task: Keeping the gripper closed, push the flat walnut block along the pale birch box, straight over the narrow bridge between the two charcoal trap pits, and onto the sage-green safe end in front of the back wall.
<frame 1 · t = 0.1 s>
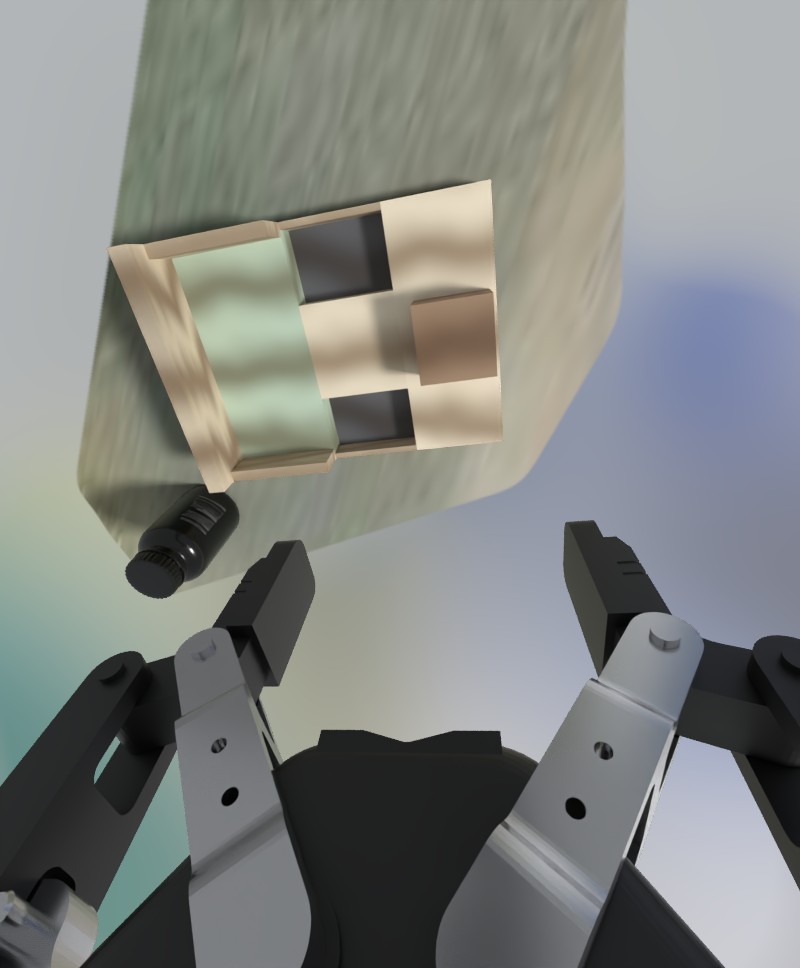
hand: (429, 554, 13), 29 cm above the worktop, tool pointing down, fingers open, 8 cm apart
walnut block: (454, 334, 35), point 2 cm above the worktop, touching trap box
supplement bottle: (213, 508, 50), on the worktop
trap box: (344, 345, 39), on the worktop
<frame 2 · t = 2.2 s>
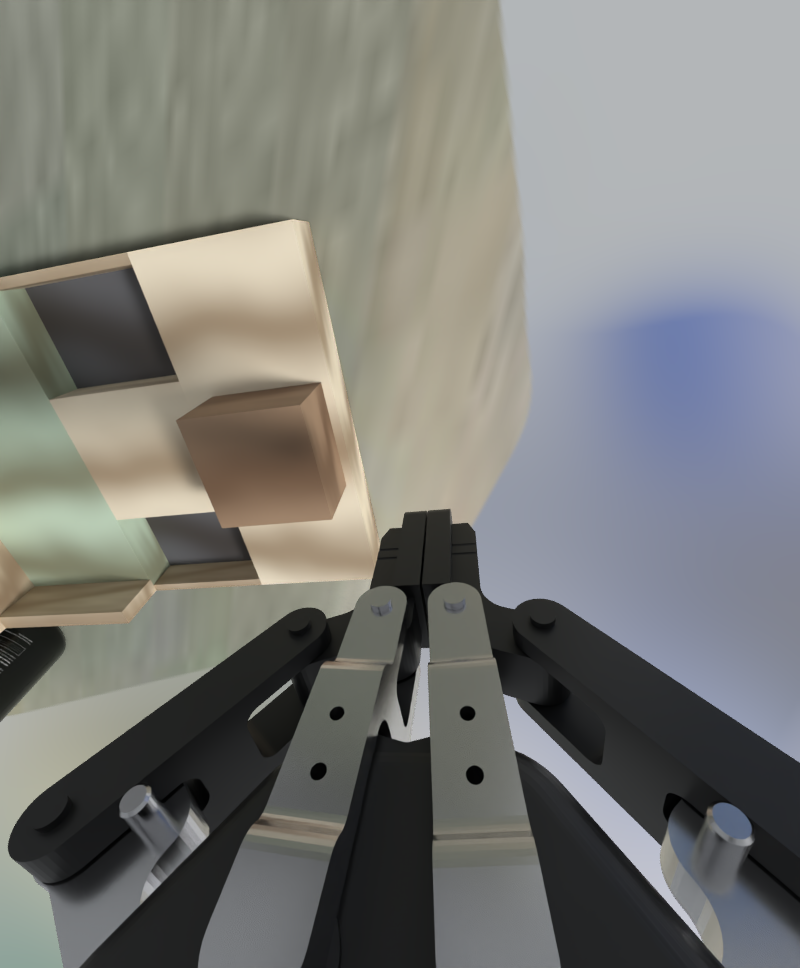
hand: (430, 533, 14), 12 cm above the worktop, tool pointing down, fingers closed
walnut block: (282, 442, 23), point 2 cm above the worktop, touching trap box
supplement bottle: (33, 628, 38), on the worktop
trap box: (148, 443, 27), on the worktop
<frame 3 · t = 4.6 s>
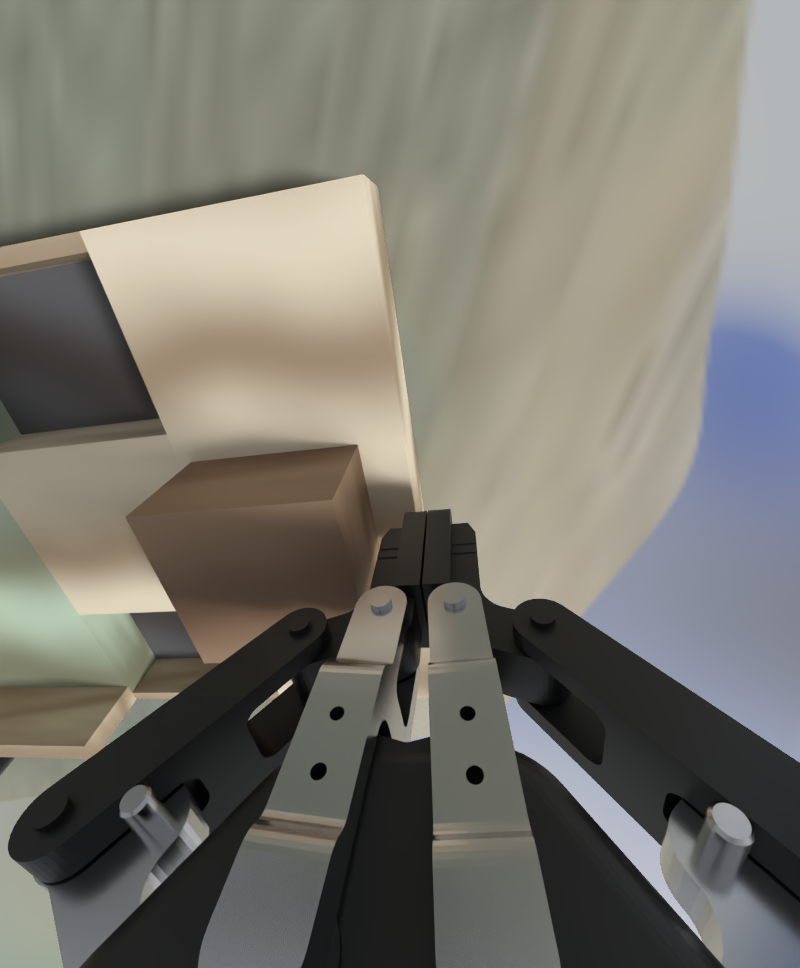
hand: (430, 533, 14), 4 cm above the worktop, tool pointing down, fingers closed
walnut block: (295, 526, 16), point 2 cm above the worktop, touching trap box
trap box: (124, 507, 19), on the worktop
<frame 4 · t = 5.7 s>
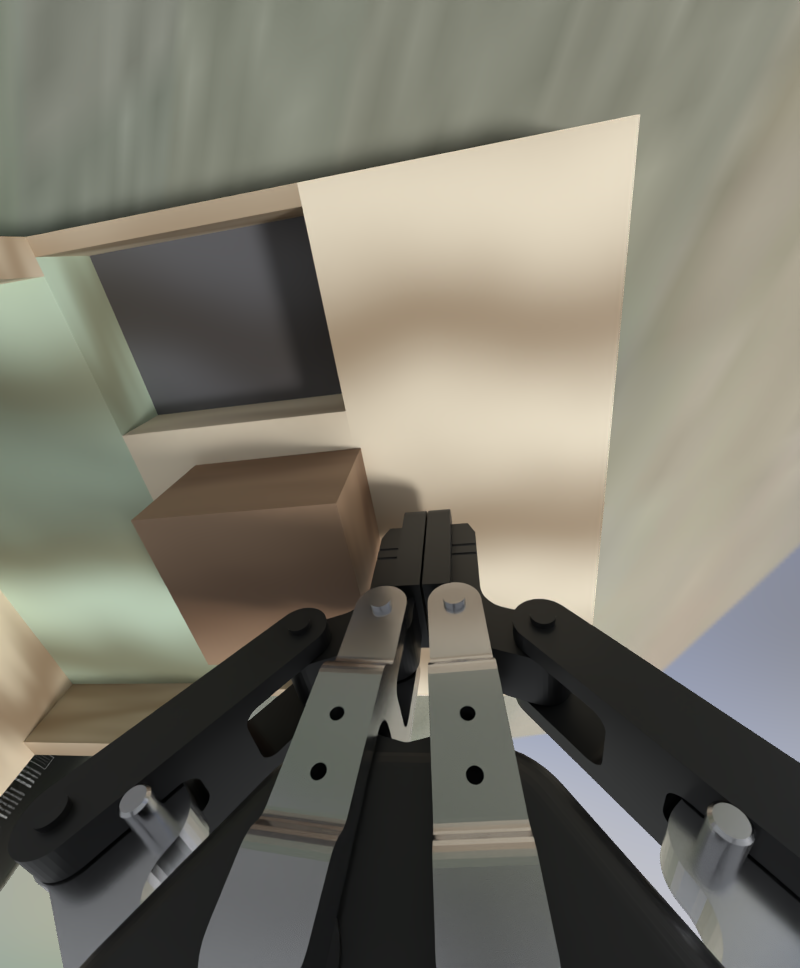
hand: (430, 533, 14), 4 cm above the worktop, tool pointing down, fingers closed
walnut block: (298, 529, 16), point 2 cm above the worktop, touching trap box
supplement bottle: (59, 716, 29), on the worktop
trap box: (253, 493, 18), on the worktop
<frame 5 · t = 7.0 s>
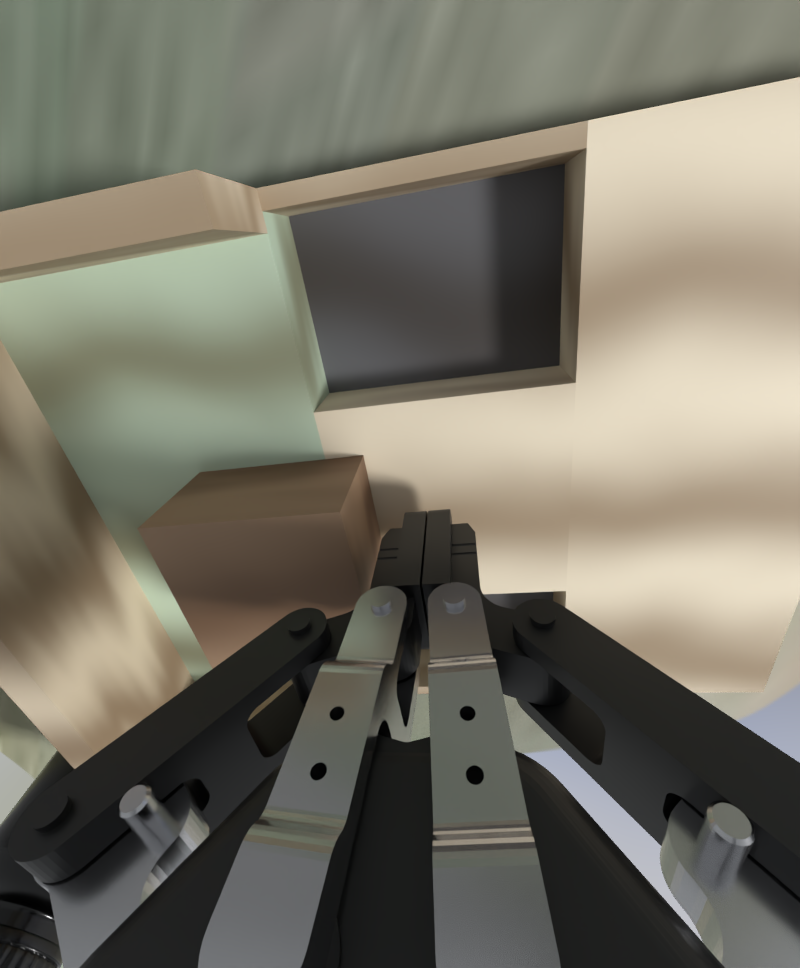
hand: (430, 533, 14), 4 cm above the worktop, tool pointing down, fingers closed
walnut block: (301, 535, 16), point 3 cm above the worktop, touching gripper, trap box
supplement bottle: (151, 715, 28), on the worktop
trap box: (413, 478, 17), on the worktop
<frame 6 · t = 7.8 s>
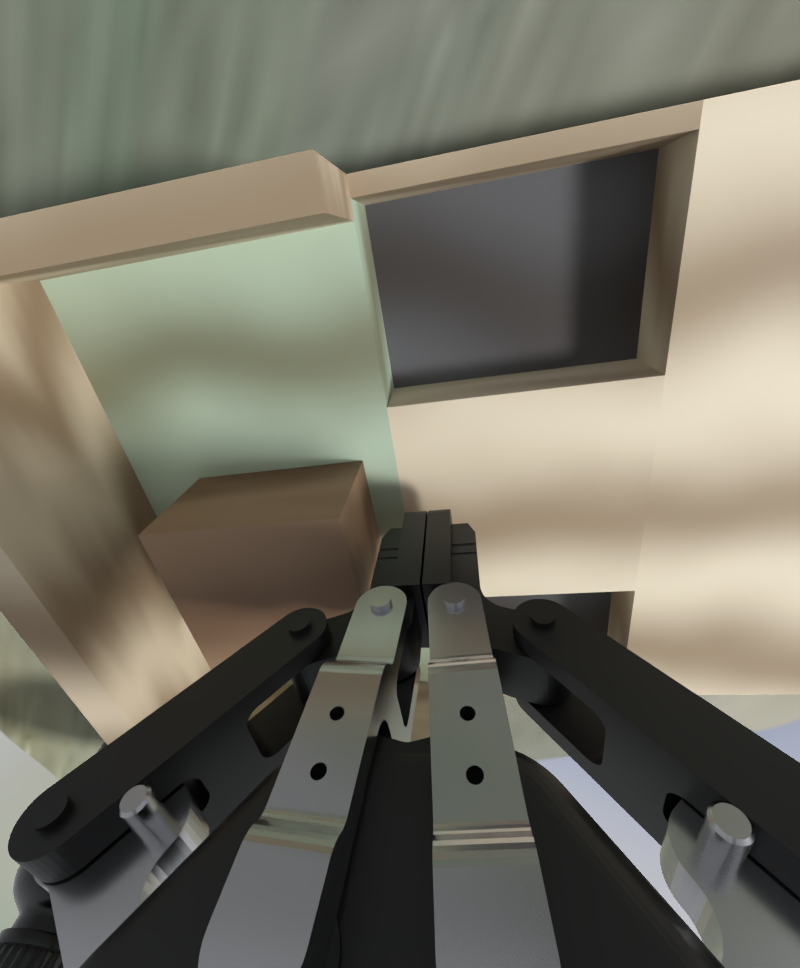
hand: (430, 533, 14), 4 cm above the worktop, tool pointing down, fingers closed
walnut block: (301, 540, 16), point 2 cm above the worktop, touching gripper, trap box
supplement bottle: (186, 718, 28), on the worktop
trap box: (473, 476, 17), on the worktop
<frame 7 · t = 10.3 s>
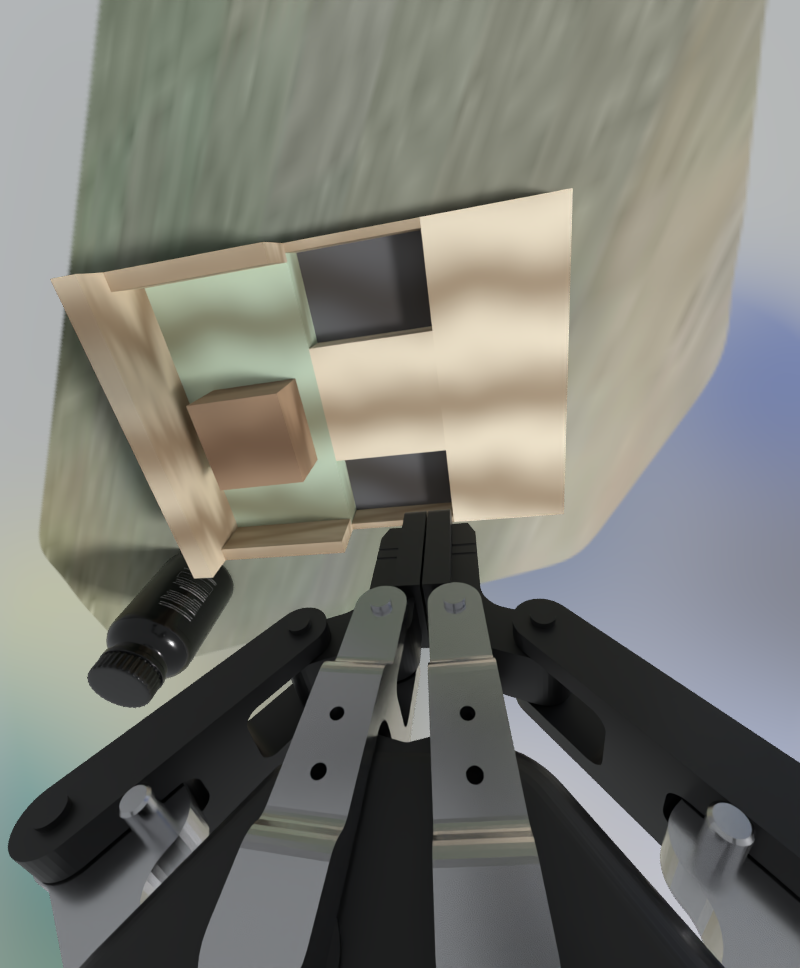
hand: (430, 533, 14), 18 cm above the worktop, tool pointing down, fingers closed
walnut block: (267, 425, 30), point 2 cm above the worktop, touching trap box
supplement bottle: (202, 576, 42), on the worktop
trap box: (364, 393, 31), on the worktop
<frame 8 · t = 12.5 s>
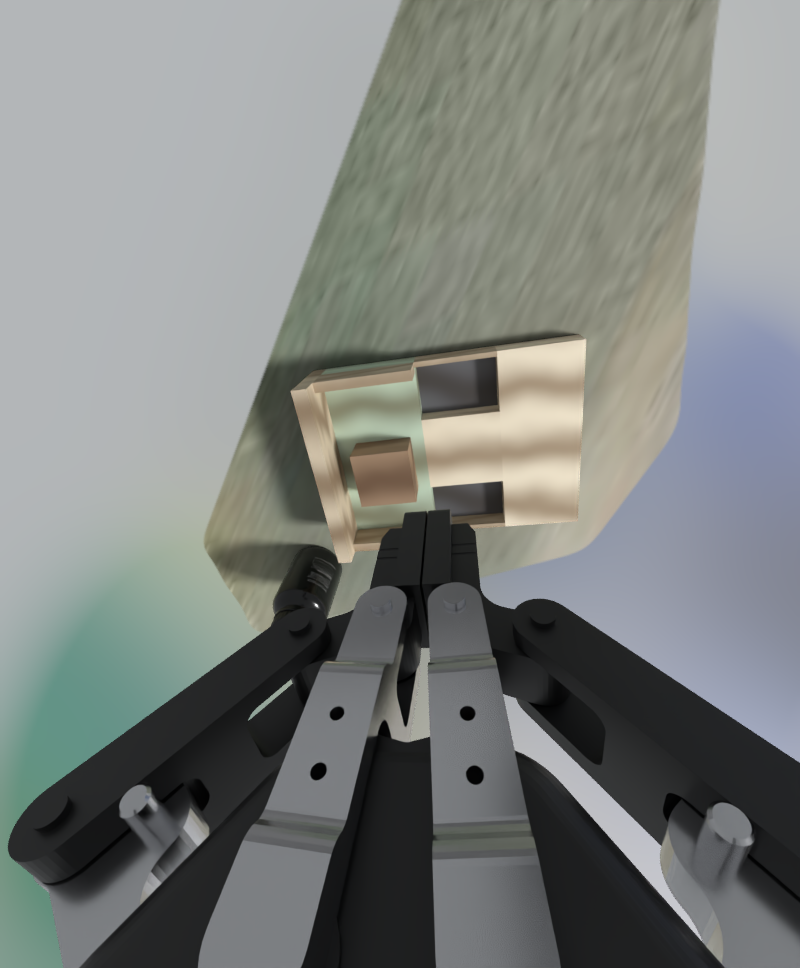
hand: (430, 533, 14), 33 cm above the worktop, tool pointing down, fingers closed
walnut block: (387, 465, 47), point 2 cm above the worktop, touching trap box
supplement bottle: (319, 563, 59), on the worktop
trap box: (449, 443, 48), on the worktop
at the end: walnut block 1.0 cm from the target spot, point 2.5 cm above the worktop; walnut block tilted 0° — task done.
